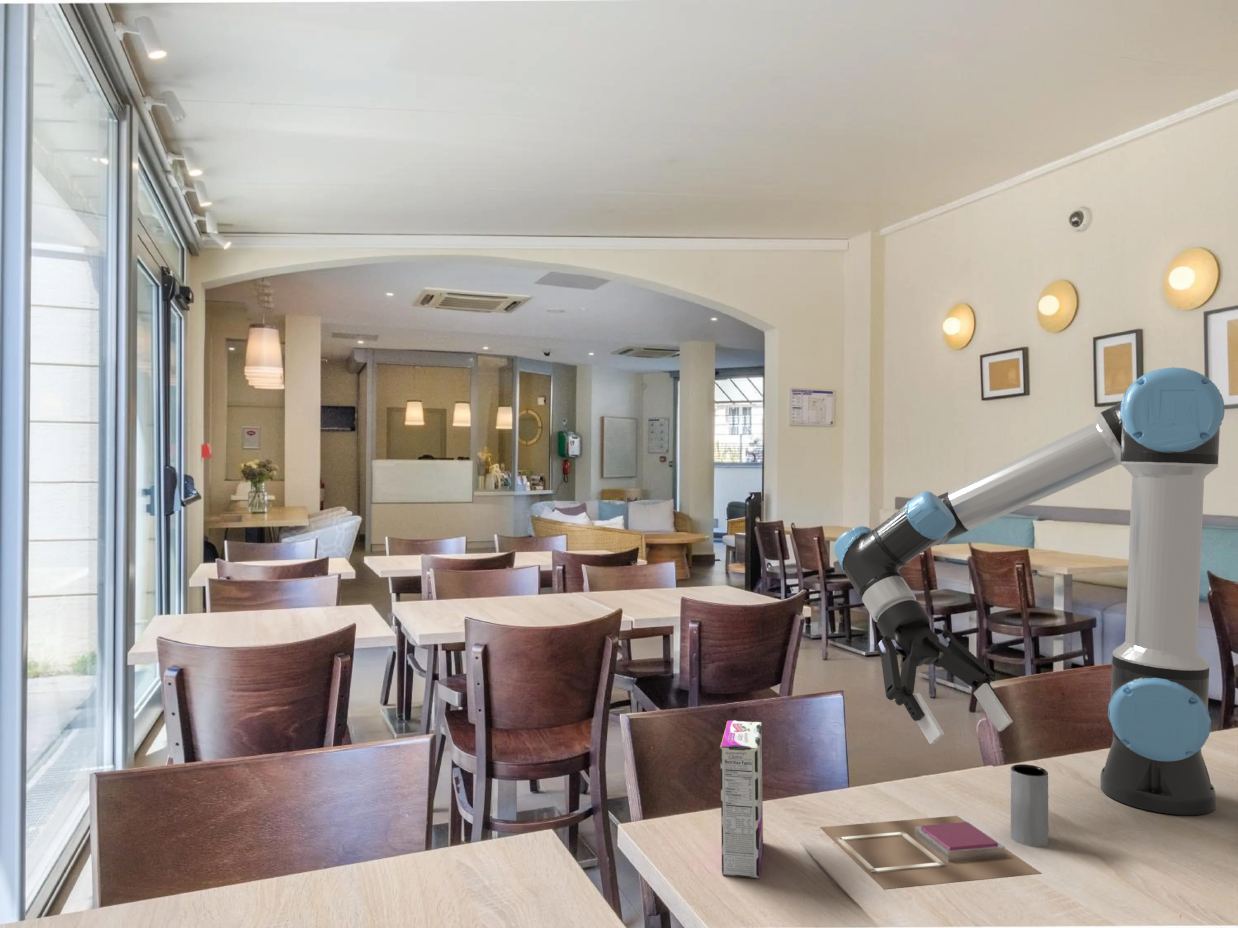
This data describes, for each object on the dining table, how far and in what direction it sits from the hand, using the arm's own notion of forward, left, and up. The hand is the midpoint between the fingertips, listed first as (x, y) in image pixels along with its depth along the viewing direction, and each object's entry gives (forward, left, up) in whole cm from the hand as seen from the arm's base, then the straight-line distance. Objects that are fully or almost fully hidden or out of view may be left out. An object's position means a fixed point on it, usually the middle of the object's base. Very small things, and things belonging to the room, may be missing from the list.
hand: (972, 732), depth 124 cm
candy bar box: (+36, +5, -13) cm, 39 cm away
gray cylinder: (-3, +9, -13) cm, 16 cm away
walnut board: (+13, +9, -13) cm, 20 cm away
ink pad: (+8, +9, -12) cm, 17 cm away
